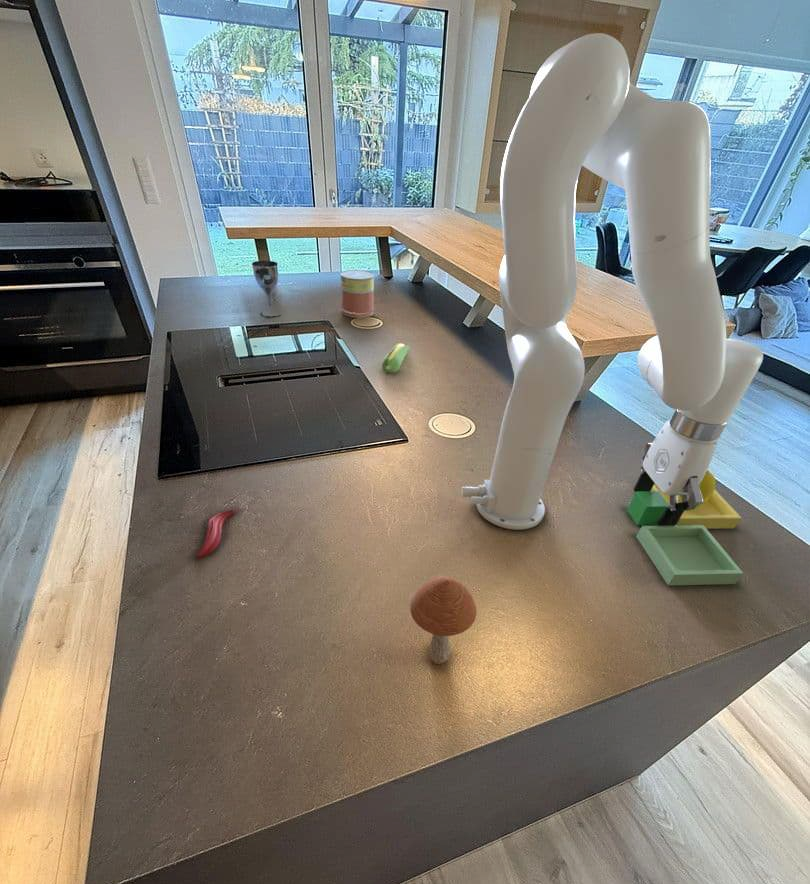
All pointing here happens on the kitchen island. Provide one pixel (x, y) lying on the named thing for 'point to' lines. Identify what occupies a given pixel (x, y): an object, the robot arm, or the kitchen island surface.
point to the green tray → (688, 555)
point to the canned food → (357, 292)
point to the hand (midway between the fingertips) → (653, 507)
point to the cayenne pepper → (214, 533)
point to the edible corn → (395, 358)
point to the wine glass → (266, 276)
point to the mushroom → (443, 613)
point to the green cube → (647, 507)
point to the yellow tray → (707, 512)
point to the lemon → (706, 486)
